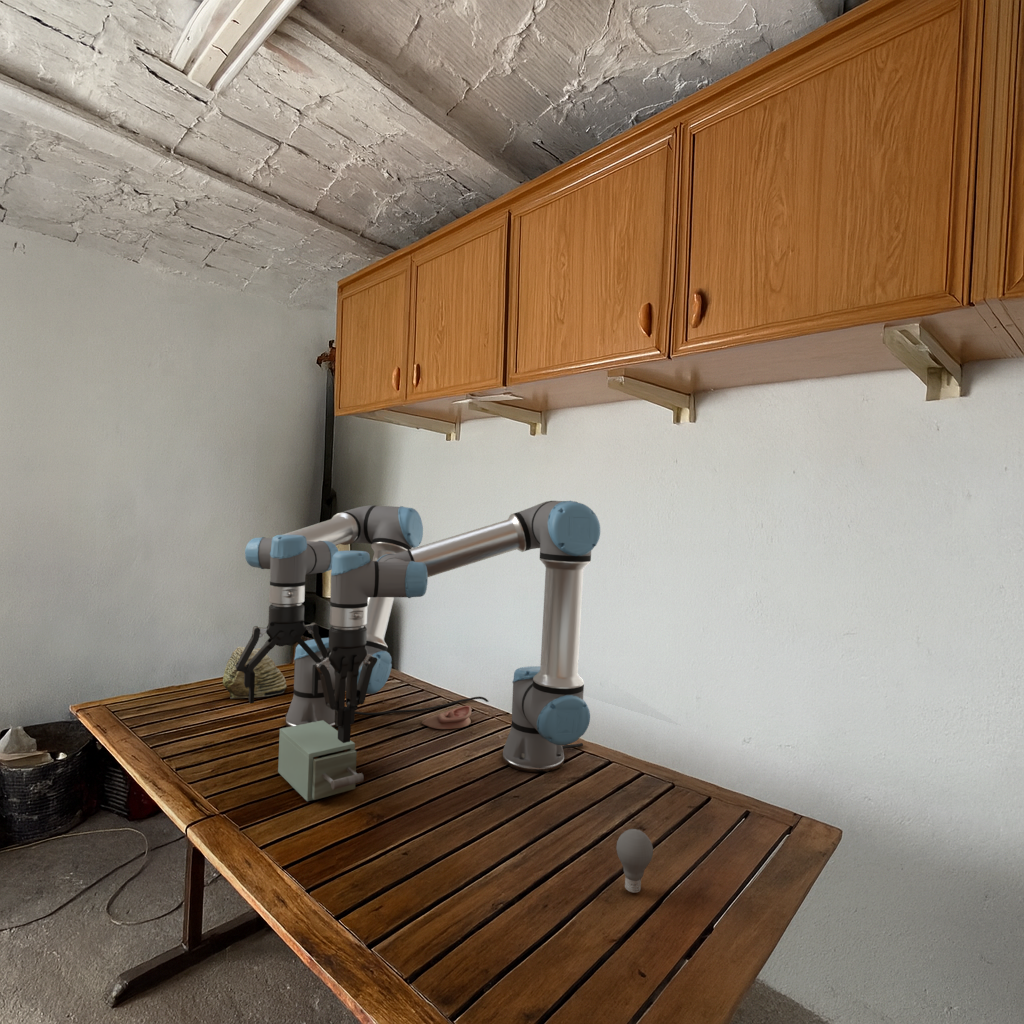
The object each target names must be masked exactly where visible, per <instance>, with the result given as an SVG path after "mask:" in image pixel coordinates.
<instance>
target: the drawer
mask: <svg viewBox="0 0 1024 1024" xmlns="http://www.w3.org/2000/svg"><path fill="white" fill-rule="evenodd" d="M357 755H358V754H357V750H356V749H355V750H352V751H347V750H342V751H338V752H334V753H329V754H325V755H321V756H317V757H313V776H312V798H313V799H314V800H313V801H317V800H319V799H320V800H321V799H323V798H327V797H331V796H334V795H338V794H341V793H345V792H349V791H352V790H355V789H356V784H359V783H362V782H364V774H363V772H361V773H360V772H359V773H357Z"/></svg>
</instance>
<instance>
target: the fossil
mask: <svg viewBox="0 0 1024 1024" xmlns="http://www.w3.org/2000/svg"><path fill="white" fill-rule="evenodd" d="M245 647H246V646H238V647H237V648H236V649H235V650H233V651H232V653H231V656H230V657H229V659H228V660H227V663H226V666H225V668H224V671H223V675H222V676H223V677H222V685H223V687H224V688H225V690H226V691H228V693H229V698H230V699H249V688H246V687H245V685H244V672H241V671H237V669H236V667H235V666H236V664H237V662H238V660H239V658H240V656H241V655H242V653H243V651H244V649H245ZM261 648H262V647H258V648H254V649H253V651H252V653H251V655H250V657H249V658H248V660H247V662H246V664H245V665H247V664H248V662H249V661H250V660H251V659H252V658H253V657H254V656H255V654H256V653H257V652H258V651H259V650H260V649H261ZM253 671H254V673H255V687H254V698H264V697H271V696H275V695H281V694H284V693H285V691H286V689H287V687H288V686H287V680H286V678H285V676H284V674H283V673H282V672H281V669H279V668H278V667H277V665H276V663H275V662H274V660H273V659H272V658H271V657H270V656H269V655H268V653H267V654H266V656H265V657H264V658H263V659H262V660H261V661H260V662H259V664H258V665H257V666H256V667H255V668H254V669H253Z"/></svg>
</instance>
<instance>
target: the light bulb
mask: <svg viewBox="0 0 1024 1024" xmlns="http://www.w3.org/2000/svg"><path fill="white" fill-rule="evenodd" d="M615 849H616V854H617V857H618V859H619V861H620V863H621V865H622V867H623V873H624V874H623V875H624V876H625V878H624V888H625V890H627V891H628V892H630V893H634V894H635V893H639V892H640V891H641V889H642V887H641V886H642V879H643V877H644V875H645V871H646V868H647V867H648V866H649V864H650V863H651V861H652V859H653V855H654V847H653V843H652V841H651V838H649V836H648V835H647V834H646V833H645V832H643V831H642V830H641V829H636V828H629V829H627V830H625V831H623V832H622V833H621V834H620V835H619V837H618V839H617V841H616V847H615Z"/></svg>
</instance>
